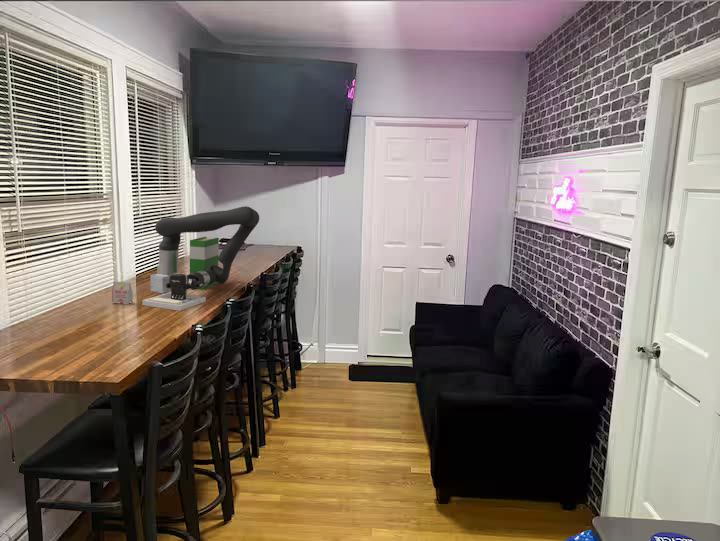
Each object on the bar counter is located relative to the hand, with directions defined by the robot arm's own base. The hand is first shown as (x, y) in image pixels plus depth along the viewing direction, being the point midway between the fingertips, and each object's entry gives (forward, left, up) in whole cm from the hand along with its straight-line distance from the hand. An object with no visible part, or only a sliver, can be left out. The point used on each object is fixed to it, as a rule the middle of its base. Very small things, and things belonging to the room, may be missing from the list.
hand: (174, 287), depth 208 cm
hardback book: (-12, +40, -8) cm, 43 cm away
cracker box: (0, -6, -7) cm, 9 cm away
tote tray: (0, 0, -8) cm, 8 cm away
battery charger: (0, +2, -6) cm, 7 cm away
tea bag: (-18, -10, -8) cm, 22 cm away
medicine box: (-19, +15, -8) cm, 26 cm away
